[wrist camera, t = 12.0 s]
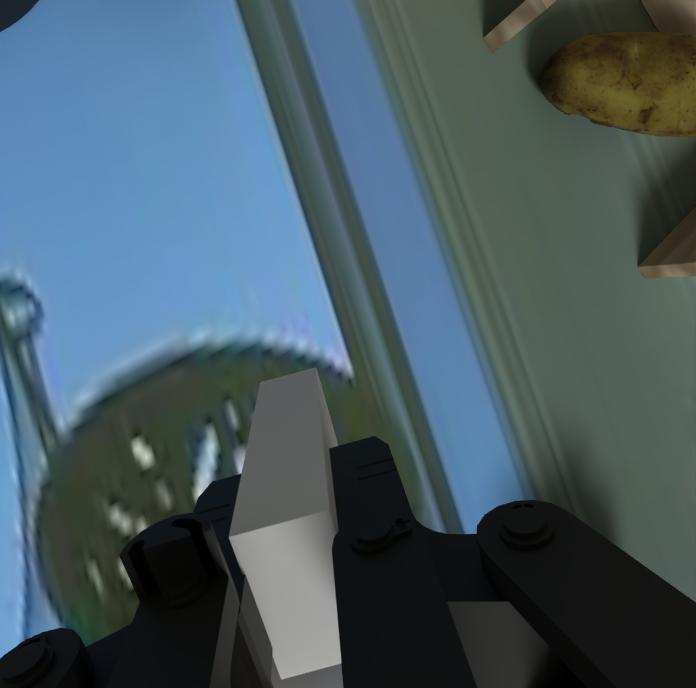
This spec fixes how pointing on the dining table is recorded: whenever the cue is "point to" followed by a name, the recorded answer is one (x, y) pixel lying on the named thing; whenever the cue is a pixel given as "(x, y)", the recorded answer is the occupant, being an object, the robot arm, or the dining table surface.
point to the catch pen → (668, 16)
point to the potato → (627, 81)
